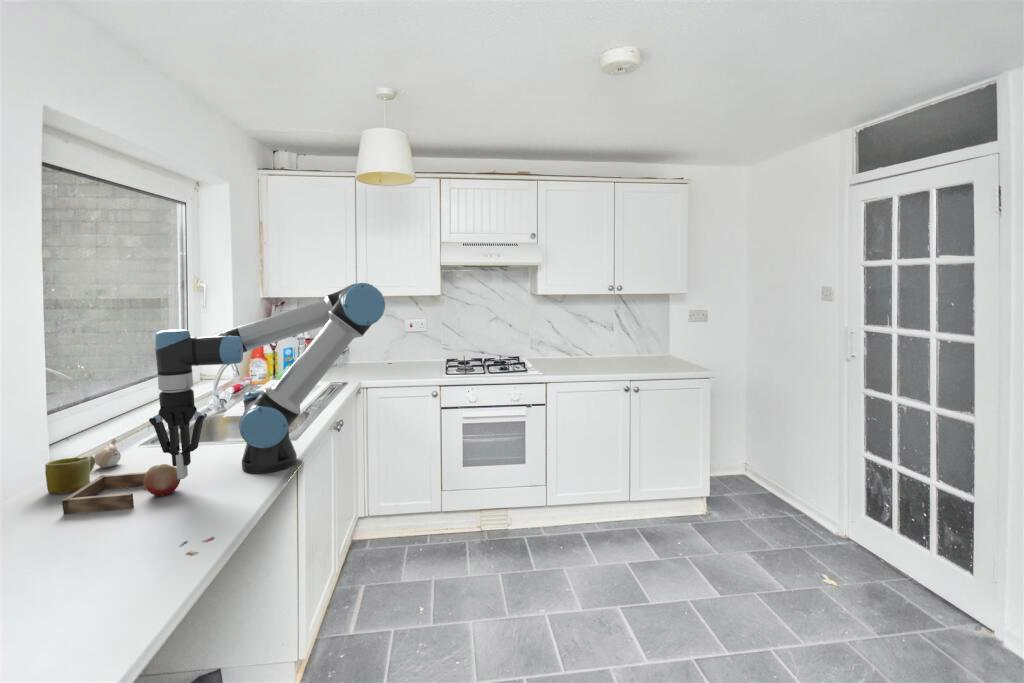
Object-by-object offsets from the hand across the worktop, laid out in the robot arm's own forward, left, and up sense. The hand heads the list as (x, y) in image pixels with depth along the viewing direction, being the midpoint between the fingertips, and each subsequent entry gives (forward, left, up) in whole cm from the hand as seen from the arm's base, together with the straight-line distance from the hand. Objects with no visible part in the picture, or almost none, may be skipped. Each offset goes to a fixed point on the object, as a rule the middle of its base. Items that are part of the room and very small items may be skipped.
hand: (182, 477), depth 134 cm
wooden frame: (+16, 0, -4) cm, 16 cm away
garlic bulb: (+31, -27, -4) cm, 41 cm away
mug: (+31, -11, -4) cm, 33 cm away
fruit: (+5, 0, -4) cm, 7 cm away
